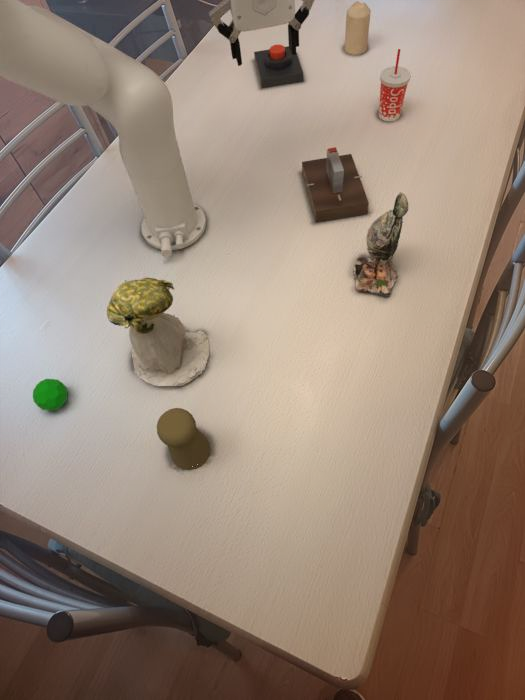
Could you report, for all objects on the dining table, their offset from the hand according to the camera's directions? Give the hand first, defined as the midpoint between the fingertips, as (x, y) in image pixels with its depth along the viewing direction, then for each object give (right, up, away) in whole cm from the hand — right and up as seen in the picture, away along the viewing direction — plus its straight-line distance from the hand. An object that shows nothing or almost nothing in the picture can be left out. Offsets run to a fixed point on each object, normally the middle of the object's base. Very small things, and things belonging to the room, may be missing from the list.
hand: (265, 56), depth 88 cm
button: (+3, +18, +30) cm, 35 cm away
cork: (-11, -67, -13) cm, 69 cm away
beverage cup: (+27, 0, +22) cm, 35 cm away
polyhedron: (-34, -60, -7) cm, 69 cm away
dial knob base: (+13, -21, +11) cm, 27 cm away
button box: (+3, +16, +33) cm, 37 cm away
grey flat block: (+13, -19, +8) cm, 25 cm away
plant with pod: (+19, -38, +1) cm, 43 cm away
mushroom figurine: (-16, -53, -5) cm, 55 cm away
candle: (+22, +23, +36) cm, 48 cm away
